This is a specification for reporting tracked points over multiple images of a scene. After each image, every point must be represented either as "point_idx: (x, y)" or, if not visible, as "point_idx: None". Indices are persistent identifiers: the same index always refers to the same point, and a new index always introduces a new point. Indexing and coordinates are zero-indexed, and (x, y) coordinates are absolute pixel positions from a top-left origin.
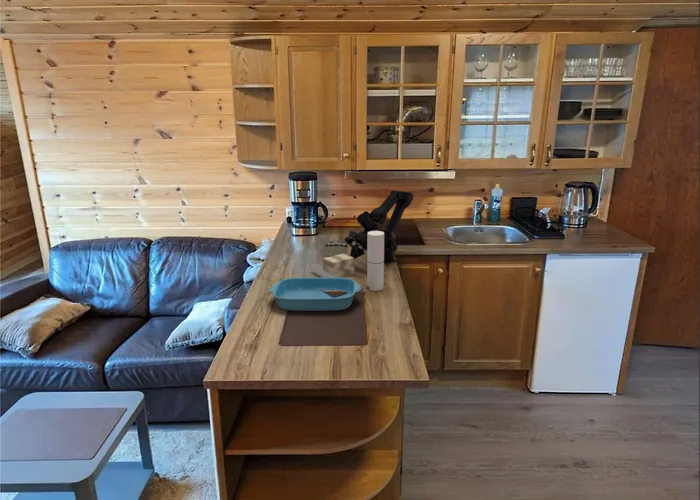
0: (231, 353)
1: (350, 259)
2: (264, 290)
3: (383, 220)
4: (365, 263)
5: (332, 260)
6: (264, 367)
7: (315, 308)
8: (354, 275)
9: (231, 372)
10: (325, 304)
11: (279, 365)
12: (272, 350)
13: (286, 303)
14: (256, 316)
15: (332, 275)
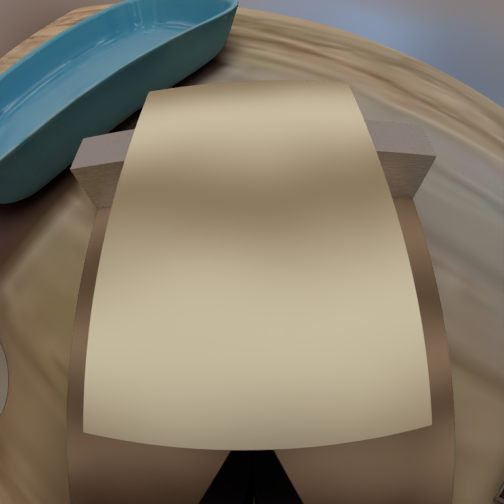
0: (94, 9)
1: (93, 355)
2: (303, 31)
3: None
4: None
5: (215, 113)
6: (37, 36)
7: (49, 77)
8: None
9: (65, 17)
10: (17, 84)
11: (23, 47)
12: (50, 37)
13: (110, 21)
14: None
15: (114, 134)
